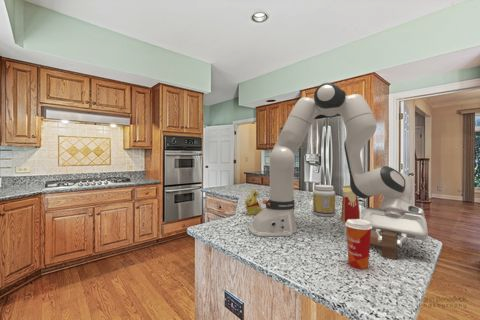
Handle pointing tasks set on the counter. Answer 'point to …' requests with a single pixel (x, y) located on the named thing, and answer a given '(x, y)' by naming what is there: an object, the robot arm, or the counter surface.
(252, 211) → the chocolate bunny
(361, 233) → the paper cup
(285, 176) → the robot arm
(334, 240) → the counter surface
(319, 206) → the supplement tub
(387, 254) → the walnut block
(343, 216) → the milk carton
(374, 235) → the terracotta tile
